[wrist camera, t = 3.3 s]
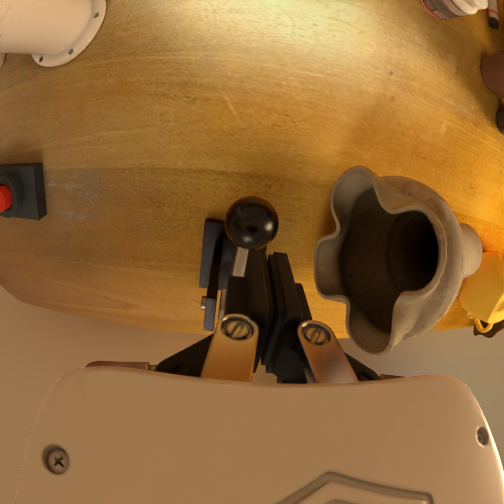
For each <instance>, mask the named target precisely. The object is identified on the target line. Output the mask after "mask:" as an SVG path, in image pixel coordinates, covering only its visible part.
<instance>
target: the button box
mask: <svg viewBox="0 0 504 504" xmlns="http://www.w3.org/2000/svg"><path fill="white" fill-rule="evenodd" d="M2 185H6V186H7V187H8V188H9V190H10V192H11V196H12V204H11V206H10V207H9V208H7V209H6V210H4V211H3V212H0V216H3V217H7V218H11V217H18V218H27V219H35V220H40V219H41V218H42V217H44V216H45V215H46V214H47V211H46V203H45V194H44V182H43V165H42V163H19V164H3V165H0V186H2Z"/></svg>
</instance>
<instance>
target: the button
mask: <svg viewBox="0 0 504 504" xmlns="http://www.w3.org/2000/svg"><path fill="white" fill-rule="evenodd" d="M11 204H12V196H11V192H10V190H9V188H8V187H7V186H6V185H2V186H0V212H3V211H4V210H6V209H7V208H9V207H10V206H11Z"/></svg>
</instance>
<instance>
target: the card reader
mask: <svg viewBox="0 0 504 504" xmlns="http://www.w3.org/2000/svg"><path fill="white" fill-rule="evenodd" d="M496 121H497V128H498V129H499V130H500V132H502V133H503V134H504V111H501V112H498V113H497V115H496Z"/></svg>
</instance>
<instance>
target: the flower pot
mask: <svg viewBox="0 0 504 504" xmlns="http://www.w3.org/2000/svg"><path fill="white" fill-rule="evenodd" d="M481 71H482V76H483V79H484V82H485V84H486V86H487V87H488V89H489V90H490V91H491V92H493V93H494V94H496V95H498V96H500V97H501V98H503V99H504V51H501V52H498V53H494V54H491V55H489V56H486V57H485V58H483V60H482V63H481Z"/></svg>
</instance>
